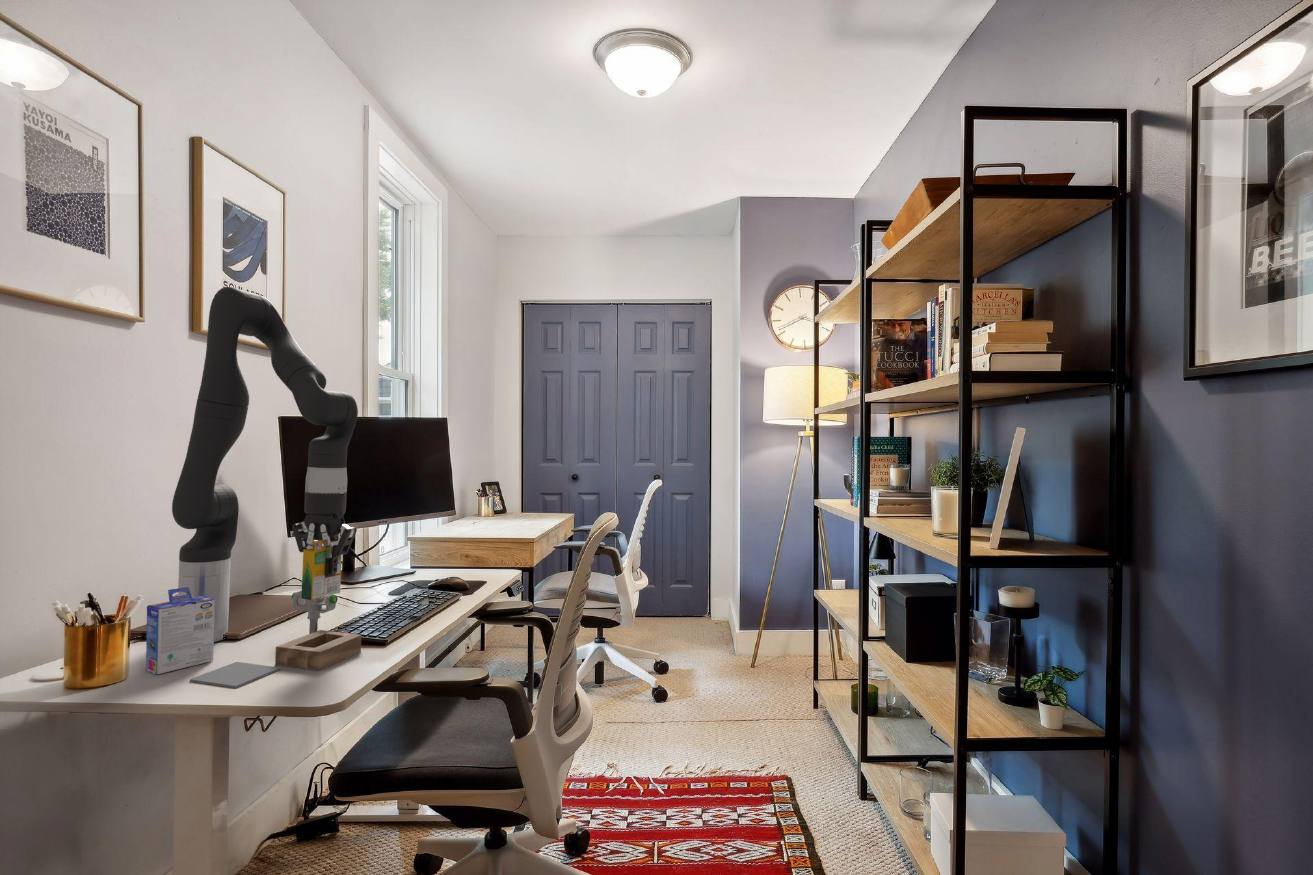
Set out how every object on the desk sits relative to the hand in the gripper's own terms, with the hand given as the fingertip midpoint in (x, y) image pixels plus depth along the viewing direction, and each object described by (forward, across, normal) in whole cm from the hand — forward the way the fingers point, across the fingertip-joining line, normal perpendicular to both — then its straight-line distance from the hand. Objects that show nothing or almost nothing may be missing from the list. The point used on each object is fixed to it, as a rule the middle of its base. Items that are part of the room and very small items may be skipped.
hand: (322, 574), depth 134 cm
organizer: (+17, 0, 0) cm, 17 cm away
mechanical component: (+17, -10, +10) cm, 22 cm away
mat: (+17, -7, -13) cm, 22 cm away
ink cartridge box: (+17, -21, -12) cm, 29 cm away
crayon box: (+4, 0, 0) cm, 4 cm away
